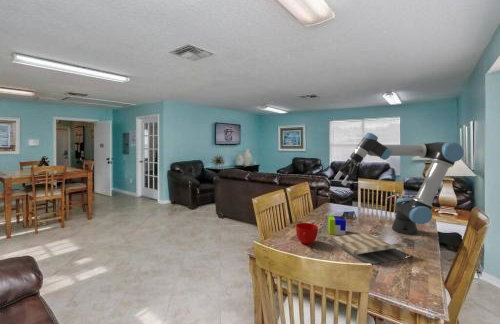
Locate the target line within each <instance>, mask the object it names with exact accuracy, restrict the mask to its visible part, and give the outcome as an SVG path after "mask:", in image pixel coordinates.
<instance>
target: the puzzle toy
mask: <svg viewBox="0 0 500 324" xmlns="http://www.w3.org/2000/svg"><path fill="white" fill-rule="evenodd" d="M327 220H328V221H327V232H328V234H329V235H330V236H331V235H332V236H344V235H346V231H347V230H346V228H347V227H346V225H347V220H346V219H345V216H344V215H343V216H341V215H340V216H339V215H328V216H327Z"/></svg>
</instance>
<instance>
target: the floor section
mask: <svg viewBox="0 0 500 324" xmlns="http://www.w3.org/2000/svg"><path fill="white" fill-rule="evenodd" d="M327 242H329V244H332V245H333V246H335V247H337V248H338V249H340V250H342V251H343V252H345V253H346V254H348V255H350V256H352V257H353V258H355V259H356V260H357V261H359V262H361V263H363V264H364V263H371V264H373V265H378V264H377V263H379V264H383V263H382V262H384V263H389V262H388V261H390V262H394V261H393V260H396V261H399V260H398V259H402V260H404V259H403V258H405V257H406V255H407V256H409V255H410V254H409V253H407V252H404V251H401V250H400V249H398V248H395V249H389V250H382V251H376V252H369V253H363V254H356V253H355V250H360V249H365V248H371V247H378V246H384V245H391V244H390V243H389V242H386V241H385V240H382V239H380V238H377V237H375V236H373V235H371V234H368V233H367V232H361V233H354V234H353V233H352V234H345V235H344V236H343V235H335V236H331V237H330V239H327ZM410 257H413V256H412V255H410ZM413 258H414V257H413Z"/></svg>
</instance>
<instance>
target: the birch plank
mask: <svg viewBox="0 0 500 324" xmlns="http://www.w3.org/2000/svg"><path fill="white" fill-rule="evenodd" d="M404 247H408V243H407V242H399V243H392V244H391V245H384V246H378V247H371V248H365V249H360V250H355V253H356V254H363V253H369V252H376V251H382V250H389V249H400V248H404Z"/></svg>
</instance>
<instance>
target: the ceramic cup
mask: <svg viewBox="0 0 500 324" xmlns="http://www.w3.org/2000/svg"><path fill="white" fill-rule="evenodd" d="M318 230H319V226H318V225H316V224H314V223H310V222H299V223H297V224H295V231H296V232H295V233H296V236H297V238H298V240H299V241H300V243H301V244H304V245H312V244H313V243H314V242H315V240H316V239H317V237H318V232H319V231H318Z"/></svg>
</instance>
